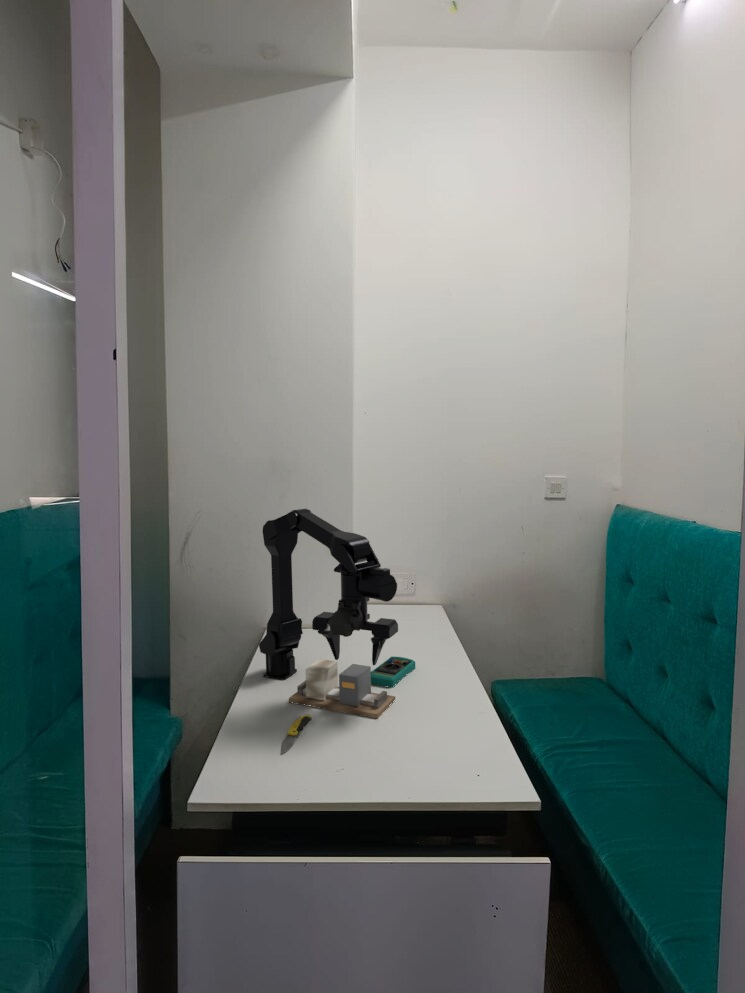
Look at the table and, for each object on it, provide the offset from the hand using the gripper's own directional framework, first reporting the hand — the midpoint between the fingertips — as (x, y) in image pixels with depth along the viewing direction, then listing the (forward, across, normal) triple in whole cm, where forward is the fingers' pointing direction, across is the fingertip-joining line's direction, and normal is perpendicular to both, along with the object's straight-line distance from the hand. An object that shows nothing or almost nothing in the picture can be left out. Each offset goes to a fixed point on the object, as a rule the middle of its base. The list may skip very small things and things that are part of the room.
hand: (355, 662), depth 145 cm
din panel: (+10, -4, 0) cm, 10 cm away
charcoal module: (+8, 0, 0) cm, 9 cm away
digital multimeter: (+10, +1, +19) cm, 21 cm away
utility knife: (+10, -5, -18) cm, 22 cm away
